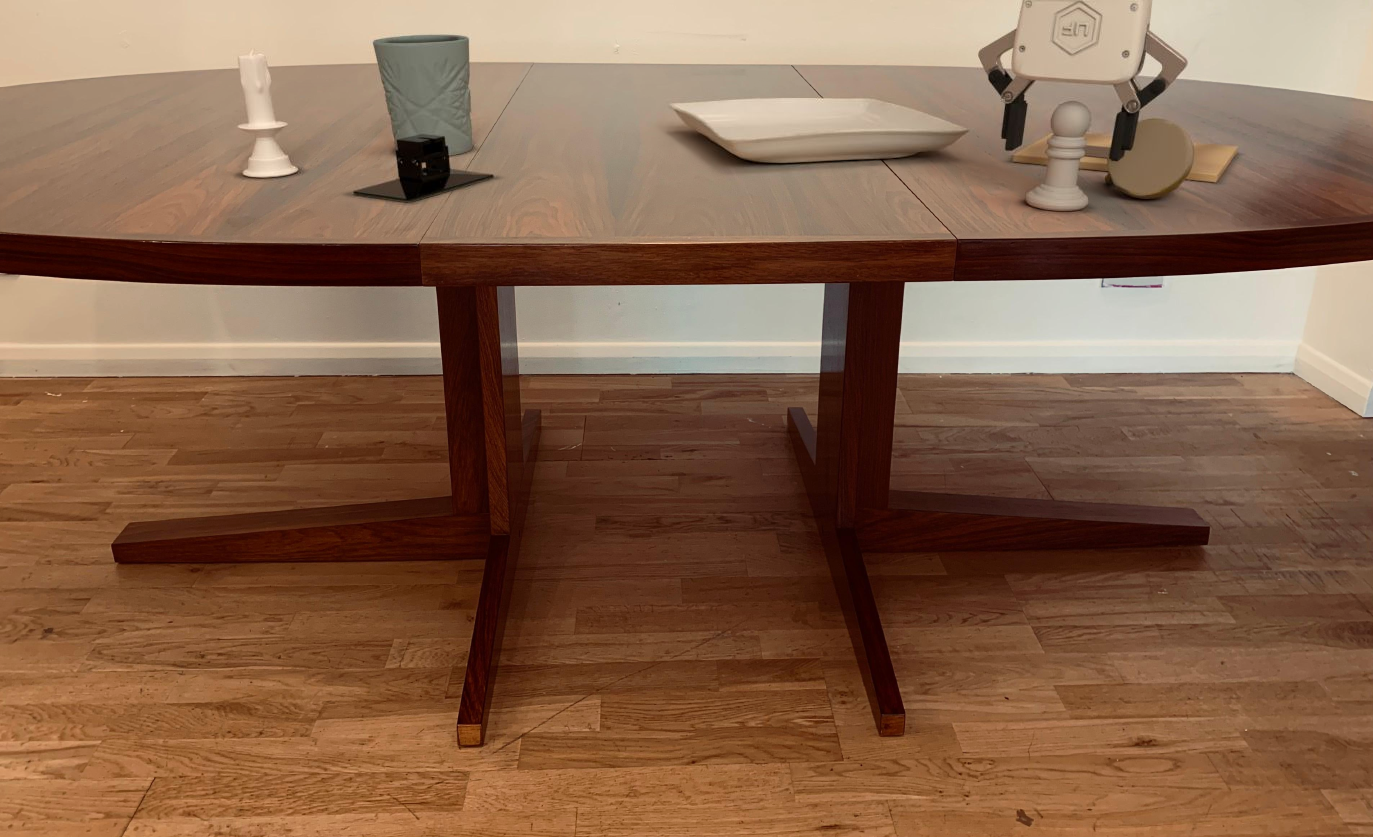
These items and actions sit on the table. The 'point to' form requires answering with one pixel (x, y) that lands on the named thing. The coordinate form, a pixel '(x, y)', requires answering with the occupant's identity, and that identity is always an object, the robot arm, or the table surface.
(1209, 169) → the board
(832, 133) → the square plate
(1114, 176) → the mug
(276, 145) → the candle
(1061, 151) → the chess piece
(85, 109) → the table surface
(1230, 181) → the table surface
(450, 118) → the drinking glass
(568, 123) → the table surface
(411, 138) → the motor on base plate
